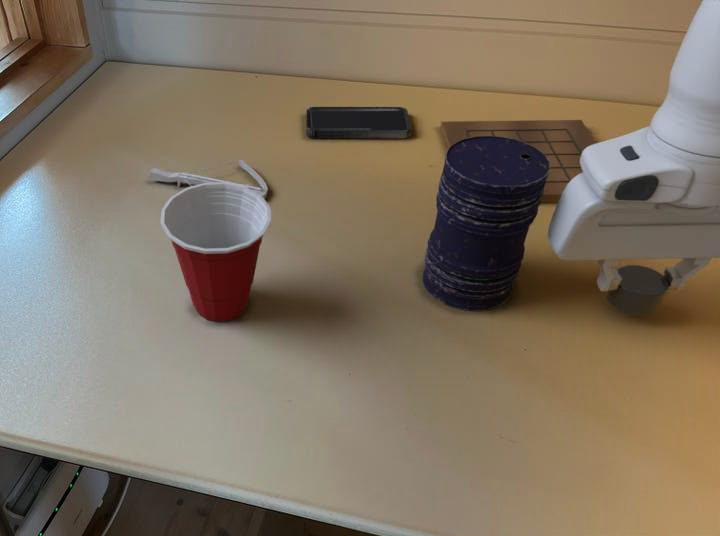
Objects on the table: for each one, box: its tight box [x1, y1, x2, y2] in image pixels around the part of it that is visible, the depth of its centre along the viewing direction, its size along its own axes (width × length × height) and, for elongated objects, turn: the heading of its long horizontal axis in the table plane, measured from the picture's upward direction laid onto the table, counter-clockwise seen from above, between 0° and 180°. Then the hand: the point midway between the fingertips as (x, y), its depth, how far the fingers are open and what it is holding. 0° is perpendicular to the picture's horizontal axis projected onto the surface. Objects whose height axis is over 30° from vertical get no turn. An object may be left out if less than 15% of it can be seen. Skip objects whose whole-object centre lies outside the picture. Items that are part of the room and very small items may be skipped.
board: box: [439, 119, 597, 204], centre depth 96 cm, size 20×20×1 cm
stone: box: [606, 264, 669, 316], centre depth 72 cm, size 5×5×3 cm
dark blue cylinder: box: [422, 136, 550, 312], centre depth 73 cm, size 10×10×15 cm
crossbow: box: [149, 159, 269, 201], centre depth 93 cm, size 16×13×2 cm
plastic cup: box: [160, 182, 272, 323], centre depth 73 cm, size 11×11×12 cm
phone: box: [305, 106, 412, 139], centre depth 105 cm, size 8×1×15 cm
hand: (637, 287), depth 72 cm, fingers closed on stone, 5 cm apart
